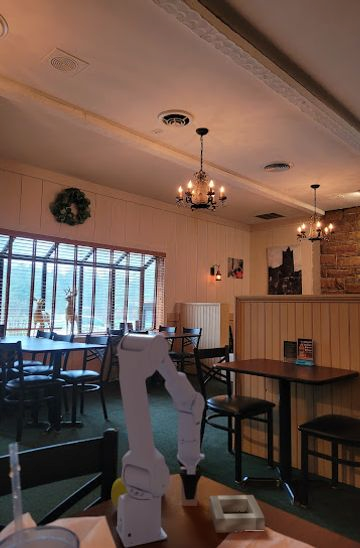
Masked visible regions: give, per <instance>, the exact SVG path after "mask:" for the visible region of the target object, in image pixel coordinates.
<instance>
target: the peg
mask: <svg viewBox="0 0 360 548" xmlns="http://www.w3.org/2000/svg"><path fill="white" fill-rule="evenodd" d="M180 469H187V468H186V467H181V468H180ZM195 471H198V470H197V466H196V467H195ZM179 487H180V488H179V489H180V495H179V497H180V499H179V500H180V506H181V507H185V506H186V507H187V506H189V507H190V506H192V507H193V506H194V507H195V506H198V487H197V488H196V493H195V498H194V500H186V498H185V493H184V486H183V482H182V479H181V478H180V486H179Z"/></svg>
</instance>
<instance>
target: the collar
mask: <svg viewBox="0 0 360 548" xmlns="http://www.w3.org/2000/svg"><path fill="white" fill-rule="evenodd" d="M209 510H210V515H211V519H212V523H213V526H214V530H215V533H219V534H220V533H222V534H223V533H236V532H235V531H245V530H266V524H265V518H266V517H265V516H264V513H263V511H262V510H261V507H260V506H259V504H258V502H257V500H256V498H255V495H254V494H242V495H241V494H240V495H239V494H238V495H237V494H236V495H233V494H232V495H227V494H226V495H209ZM239 511H240V512H241V513H240V512H239ZM245 511H246V512H247V513H246V512H245ZM233 512H234V513H233ZM236 512H237V513H236ZM242 512H243V513H242ZM244 512H245V513H244Z"/></svg>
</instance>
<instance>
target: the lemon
mask: <svg viewBox="0 0 360 548" xmlns="http://www.w3.org/2000/svg"><path fill="white" fill-rule="evenodd" d="M126 493H128V491H126V485H124V484H123V482H122V476H120V477H119V478H117V479H116V480H115V481H114V482H113V484H112V488H111V493H110V497H111V501H112V504H113V506H114V507H115V508H117V509H118V498H119V496H121V495H124V494H126Z"/></svg>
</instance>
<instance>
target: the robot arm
mask: <svg viewBox="0 0 360 548" xmlns="http://www.w3.org/2000/svg"><path fill="white" fill-rule="evenodd" d="M169 347H170V344H168V342H167V340H166V338H165V336H163V334H145V333H144V334H143V333H133V332H127V333H125V334H124V335H123V336H122V337H121V339H120V341H119V343H118V345H117V346H116V351H117V357H118V366H119V372H118V374H119V375H118V379H119V387H120V394H121V399H122V405H123V406H122V407H123V413H124V419H125V425H126V432H127V439H128V445H129V450H128V451H127V452H126V453H124V455H123V457H122V458H121V463H122V468H121V469H122V470H121V476H120V477H122V482H123V484H124V485H126V491H128V493H126V494H124V495H121V496H119V498H118V508H117V513H116V515H117V518H116V519H117V520H116V521H117V523H116V532H117V534H118V536H119V538H120V540H121V543H122V545H123V546H124V548H130V547H136V546H139V545H143V544H150V543H154V542H158V541H162V540H166V539H167V538H168V535H167V533H166V532H165V531H164V529H163V528H162V526H161V525H162V497H161V495H162V494H163V493H164V494H165V492H166V490H167V488H168V486H169V483H170V477H171V476H170V470H169V467H168V465H167V464H166V461H165V456H164V455H162V453H161V452H160V451H159V450H158V449H157V448H156V446H155V440H154V434H153V433H154V432H153V427H152V421H151V419H152V418H151V411H150V406H149V405H150V403H149V398H148V392H147V385H146V384H147V383H146V380H147V378H149V377H151V376H153V374H154V373H155V372H156V371H157V372H158V373H159V375H161V377H162V378H163V379H164V380H165V382H164V388H165V389H166V390H167V392H168V394H169V395H170V396H171V399H172V402H173V409H174V410H175V411H176V412H178V415H177V416H178V417H177V419H178V423H177V424H178V426H177V429H178V432H177V454H176V459H177V462H178V464H179V467H180V469H178V474H179V477H180V480H181V479H182V482H183V486H184V493H185V498H186V500H194V498H195V493H196V488H197V489H198V484H199V480H200V479H201V477H202V476H203V475H202V474H203V473H202V470H197V471H195V467H196V468H197V465H198V463H200V462H201V460H204V459H205V454H204V453H201V421H202V419H203V412H204V409H205V405H206V401H205V398H204V396H203V395H202V393H200V392H198V391H196V390H195V388H194V387H193V386H192V383H191V382H190V381H189V379H188V378H187V375H186V373H184V372H181V371H178V370H177V368H176V366H175V364H174V363H173V361H172V358H171V356H170V354H169V349H170V348H169ZM181 467H186V468H187V469H181Z"/></svg>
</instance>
